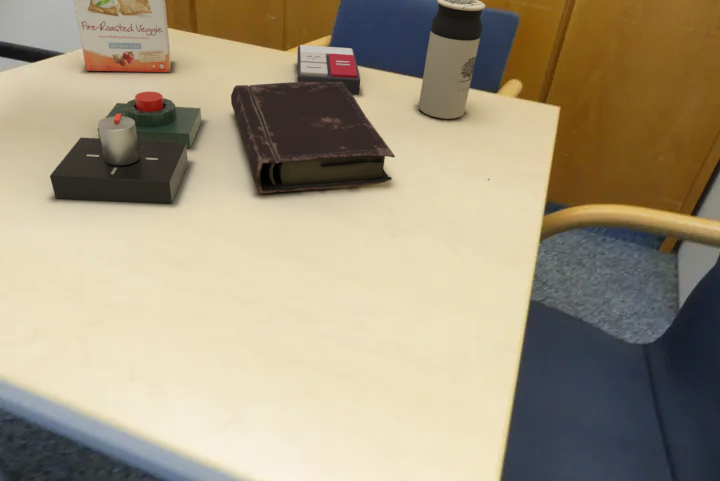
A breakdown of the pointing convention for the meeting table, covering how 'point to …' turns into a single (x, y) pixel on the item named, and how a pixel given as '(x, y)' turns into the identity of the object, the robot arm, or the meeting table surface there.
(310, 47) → the calculator
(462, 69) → the travel mug
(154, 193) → the knob base
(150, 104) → the button
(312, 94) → the diary
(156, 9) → the cracker box
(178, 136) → the button base
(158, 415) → the meeting table surface
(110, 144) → the hob knob
